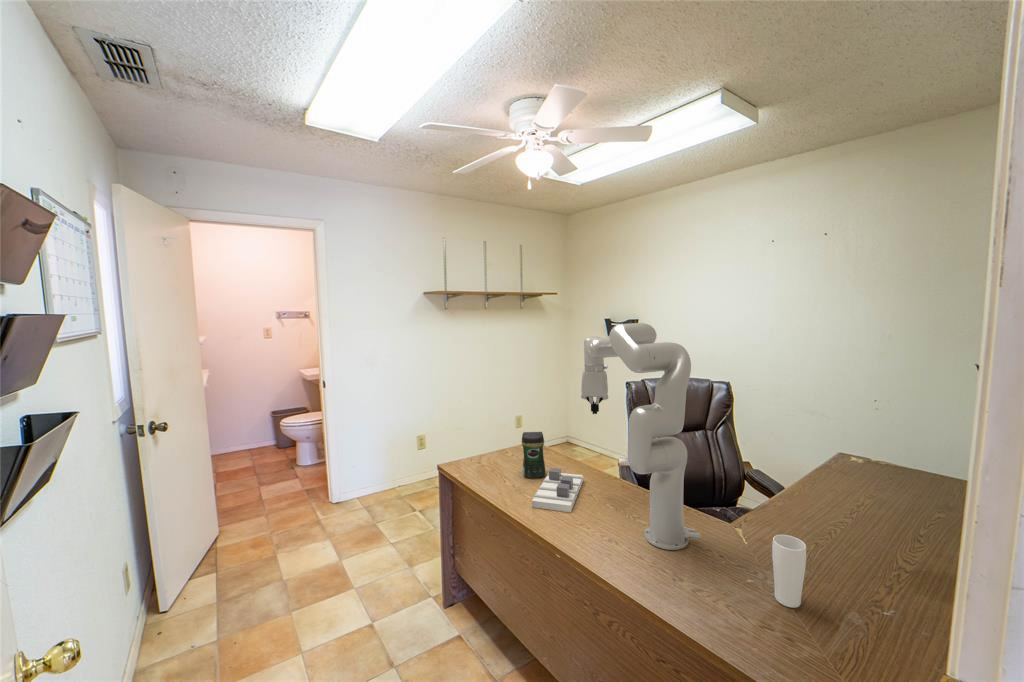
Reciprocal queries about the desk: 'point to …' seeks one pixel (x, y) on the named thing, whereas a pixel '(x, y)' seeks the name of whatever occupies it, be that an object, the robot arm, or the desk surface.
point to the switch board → (548, 494)
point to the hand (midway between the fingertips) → (594, 413)
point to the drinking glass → (788, 569)
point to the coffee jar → (533, 454)
